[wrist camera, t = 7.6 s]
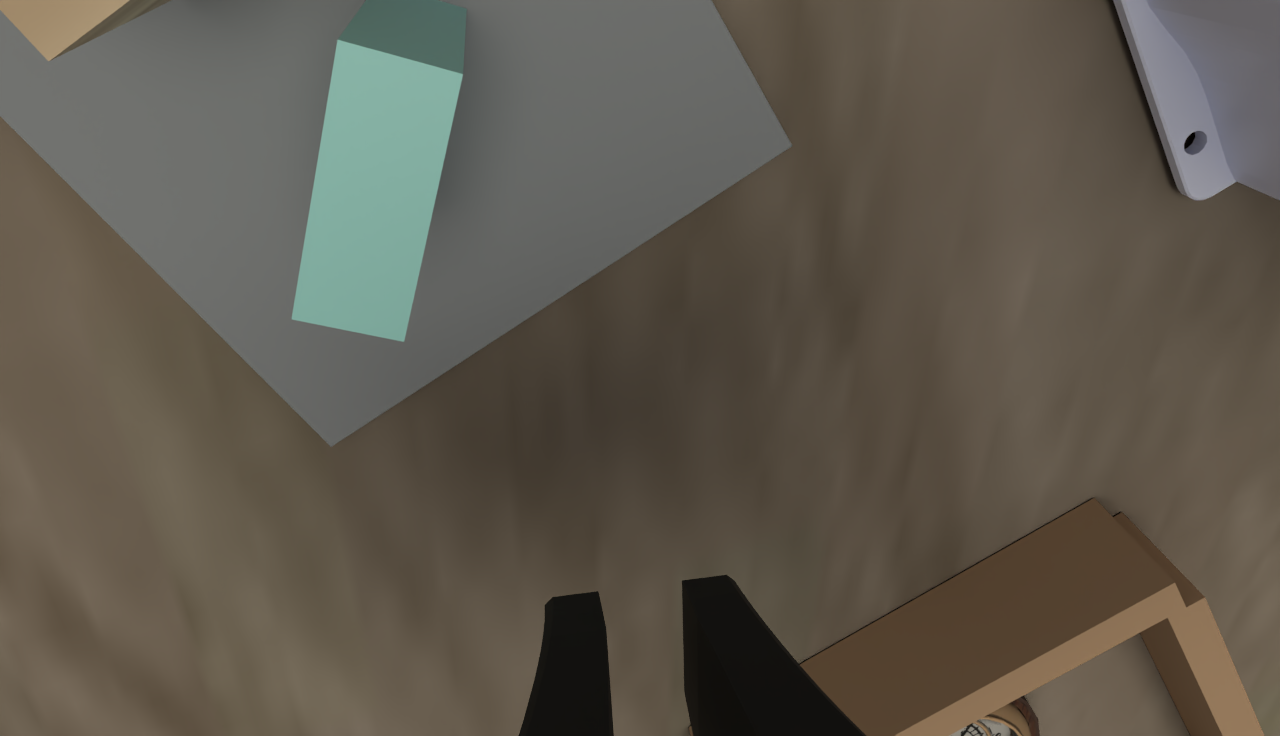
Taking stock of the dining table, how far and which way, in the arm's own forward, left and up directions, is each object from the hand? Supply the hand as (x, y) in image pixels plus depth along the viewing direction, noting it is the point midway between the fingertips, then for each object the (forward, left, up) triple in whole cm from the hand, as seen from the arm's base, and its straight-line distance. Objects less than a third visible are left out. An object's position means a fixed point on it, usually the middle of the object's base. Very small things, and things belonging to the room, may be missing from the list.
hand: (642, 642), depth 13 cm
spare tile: (+6, 0, -10) cm, 11 cm away
